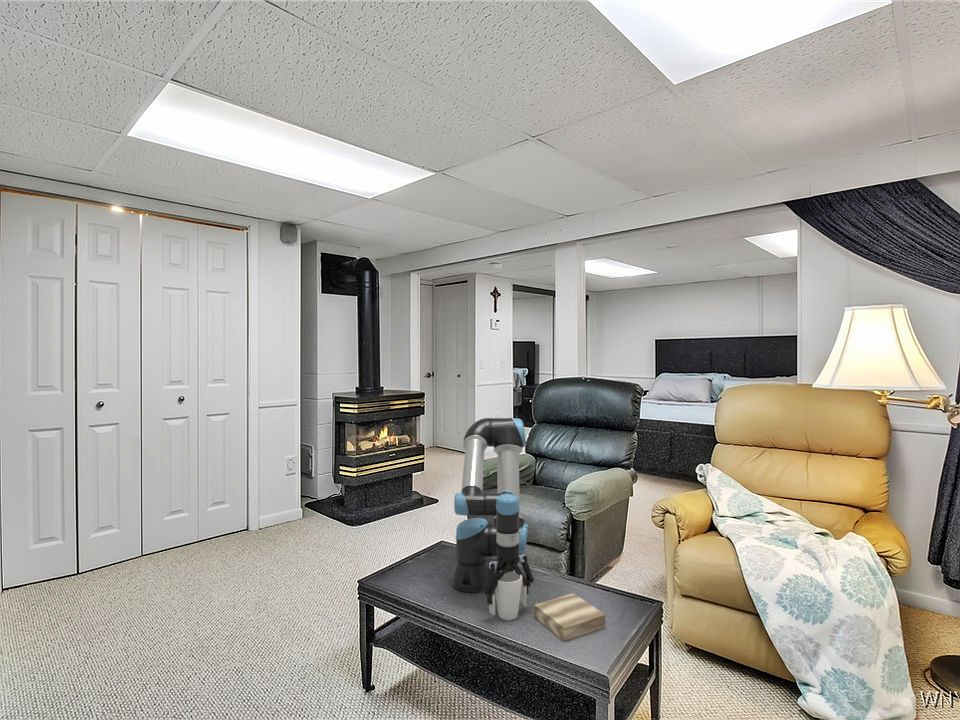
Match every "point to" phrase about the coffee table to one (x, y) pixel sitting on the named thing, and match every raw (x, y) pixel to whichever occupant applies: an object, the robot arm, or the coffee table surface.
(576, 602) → the wooden base
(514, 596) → the foam cup
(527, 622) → the coffee table surface
